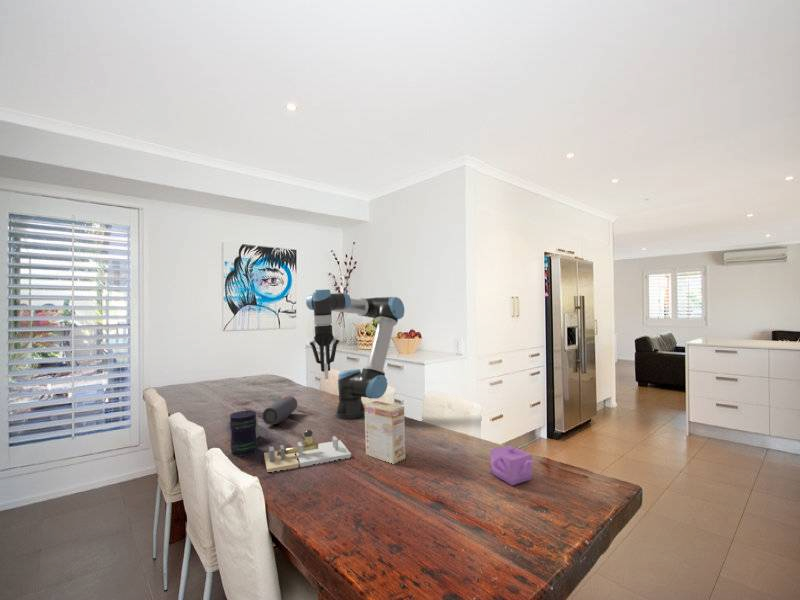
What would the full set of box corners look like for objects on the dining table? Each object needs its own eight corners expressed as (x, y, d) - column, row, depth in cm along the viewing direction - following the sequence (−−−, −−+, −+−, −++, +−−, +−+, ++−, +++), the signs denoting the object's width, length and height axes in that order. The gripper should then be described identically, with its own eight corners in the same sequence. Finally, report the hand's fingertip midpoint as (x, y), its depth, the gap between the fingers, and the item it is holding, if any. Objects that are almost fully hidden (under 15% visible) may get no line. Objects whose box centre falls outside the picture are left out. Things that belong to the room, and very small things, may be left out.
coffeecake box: (406, 458, 146) (404, 406, 146) (393, 465, 141) (391, 410, 141) (378, 449, 156) (377, 400, 156) (365, 454, 151) (363, 404, 151)
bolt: (317, 447, 153) (316, 427, 153) (318, 450, 150) (318, 429, 150) (277, 454, 147) (276, 433, 147) (277, 457, 144) (277, 436, 144)
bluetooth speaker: (282, 413, 210) (281, 394, 210) (298, 413, 209) (298, 395, 209) (261, 427, 187) (260, 406, 187) (279, 427, 186) (279, 406, 186)
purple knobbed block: (549, 486, 122) (548, 453, 122) (515, 497, 116) (514, 463, 116) (508, 465, 138) (507, 436, 138) (476, 474, 132) (476, 444, 132)
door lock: (340, 443, 163) (340, 430, 163) (350, 457, 148) (350, 443, 148) (264, 456, 151) (263, 442, 151) (267, 473, 137) (267, 457, 137)
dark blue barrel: (248, 456, 152) (246, 418, 152) (225, 455, 154) (224, 417, 154) (262, 447, 162) (261, 410, 162) (240, 445, 164) (239, 410, 164)
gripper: (335, 323, 177) (338, 375, 178) (306, 325, 172) (309, 379, 172) (340, 324, 170) (342, 378, 171) (310, 326, 165) (312, 382, 166)
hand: (326, 378), depth 172 cm, fingers closed
